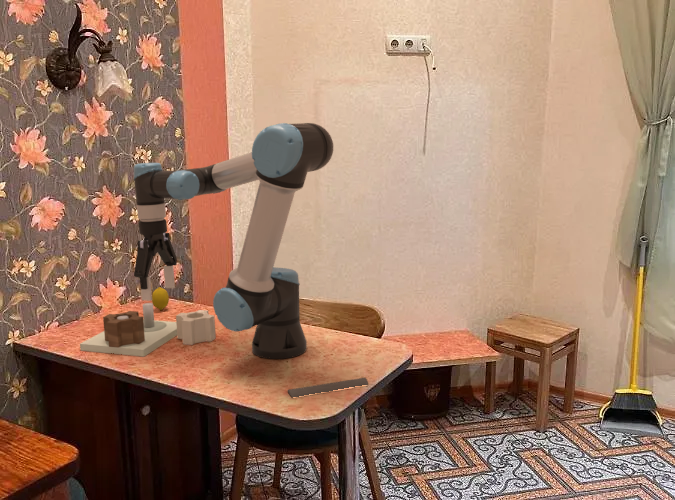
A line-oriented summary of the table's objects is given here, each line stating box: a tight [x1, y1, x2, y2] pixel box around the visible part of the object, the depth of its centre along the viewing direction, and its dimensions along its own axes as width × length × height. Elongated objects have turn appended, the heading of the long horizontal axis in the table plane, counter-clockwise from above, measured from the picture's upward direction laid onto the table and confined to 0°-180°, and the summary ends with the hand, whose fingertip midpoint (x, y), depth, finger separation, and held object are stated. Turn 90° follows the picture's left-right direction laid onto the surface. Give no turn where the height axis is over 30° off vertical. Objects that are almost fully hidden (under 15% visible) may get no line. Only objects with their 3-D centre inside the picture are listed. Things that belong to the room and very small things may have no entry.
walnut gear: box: [102, 310, 145, 348], centre depth 186 cm, size 11×11×7 cm
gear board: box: [79, 302, 177, 358], centre depth 193 cm, size 20×24×9 cm
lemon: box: [151, 286, 170, 311], centre depth 222 cm, size 6×6×8 cm
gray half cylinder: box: [286, 377, 369, 398], centre depth 158 cm, size 4×20×2 cm, turn 110°
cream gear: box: [175, 309, 217, 346], centre depth 194 cm, size 11×11×7 cm
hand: (159, 293), depth 187 cm, fingers open, 13 cm apart
